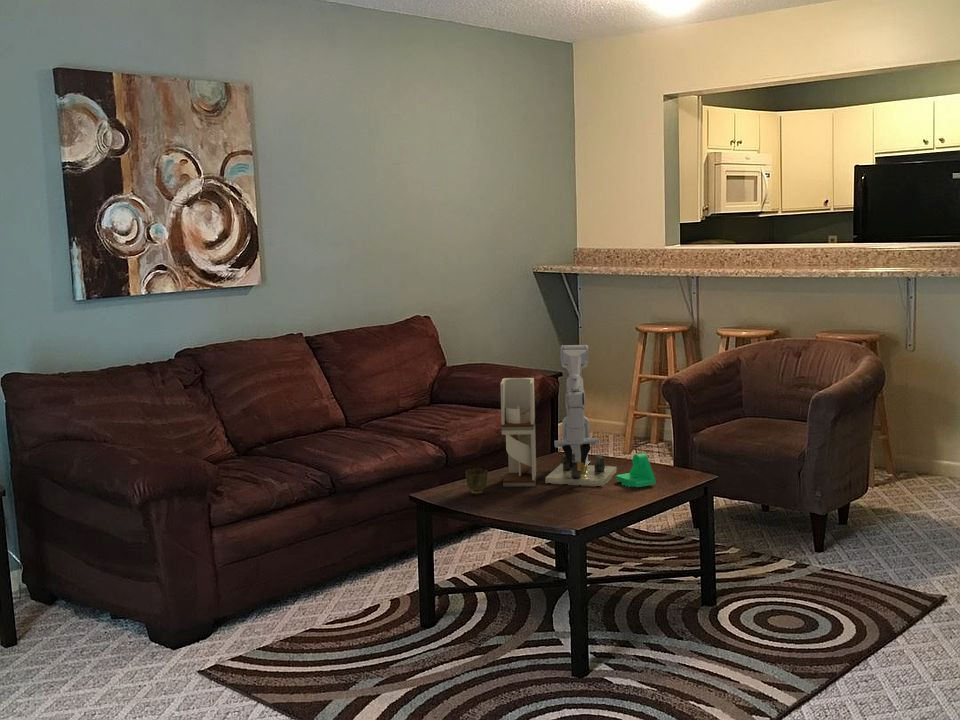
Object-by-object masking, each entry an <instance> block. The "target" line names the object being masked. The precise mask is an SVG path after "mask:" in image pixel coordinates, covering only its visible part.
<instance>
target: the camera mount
mask: <svg viewBox="0 0 960 720" xmlns="http://www.w3.org/2000/svg"><path fill="white" fill-rule="evenodd" d="M631 461H632V466H631V468H630V471H629V472H628V473H622V474H617V475H616V476H615V479H616V481H617V482H621V486H624V485H625V486H624V487H627V486H628V487H627V488H629V487H632V488H642V487H647V486H652V485H656V483H657V482H656V477H655V474H654V471H653V469H652V466H651V465H652V464H651V463H650V460H649V458H648V455H647V454H646V453H644V452H642V453H637V454H634V455H632V459H631Z"/></svg>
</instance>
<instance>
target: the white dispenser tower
mask: <svg viewBox="0 0 960 720" xmlns="http://www.w3.org/2000/svg"><path fill="white" fill-rule="evenodd" d="M499 384H500V412H501V413H500V417H501V419H500V421H501V422H500V423H501V436H502V435H503V436H504V435H505V446H506V447H505V450H506V453H507V454H508V455H507V458H508V459H507V460H508V462H507V463H508V471H505V473H504V477H503V481H502V484H503V485H502V487H536V482H537V454H536V453H537V450H536V449H537V448H536V447H537V446H536V444H537V443H536V408H535V407H536V406H535V405H536V404H535V400H536V399H535V377H504V378H502V380H501V381H500V383H499Z"/></svg>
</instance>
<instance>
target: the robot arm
mask: <svg viewBox="0 0 960 720" xmlns="http://www.w3.org/2000/svg"><path fill="white" fill-rule="evenodd" d="M560 365H561V367H562V368H564V369H567V373H568V377H567V378H566V394H564V395H565V408H566V416H565V417H564V418H562V423H561V424H562V425H561V432H562V433H561V437H562V438H561V439H559V440H554V443H553V444H554V447H555V448H562V450H563V452H564V455H566V457H567V461H568V465H569V467H570V468H572V454H575V461H577V462H583V463H584V467H585V464H587V465H588V464H589V463H590V462H591V463H592V461H591V460H589V452H590V451H591V445H595V446H596V445H597V446H598V444H599V442H598V441H599V439H598V438H597V437H590V436H591V435H590V431H591V430H590V420H589V418H588V417H586V416H585V408H586V394H585V389H584V378H583V376H581V373H582V371H583V369H584V368H587V367H588V365H589V345H587V344H574V345H573V344H570V345H569V344H567V345H565V344H562V345H560ZM591 463H590V464H591ZM590 464H589V465H590Z"/></svg>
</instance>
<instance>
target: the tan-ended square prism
mask: <svg viewBox="0 0 960 720" xmlns="http://www.w3.org/2000/svg"><path fill="white" fill-rule="evenodd" d="M569 469H571V477H573V478H580V477H582V471H583V470H584V463H583V462H577V461H573V460H572V468H570V467H569Z"/></svg>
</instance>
